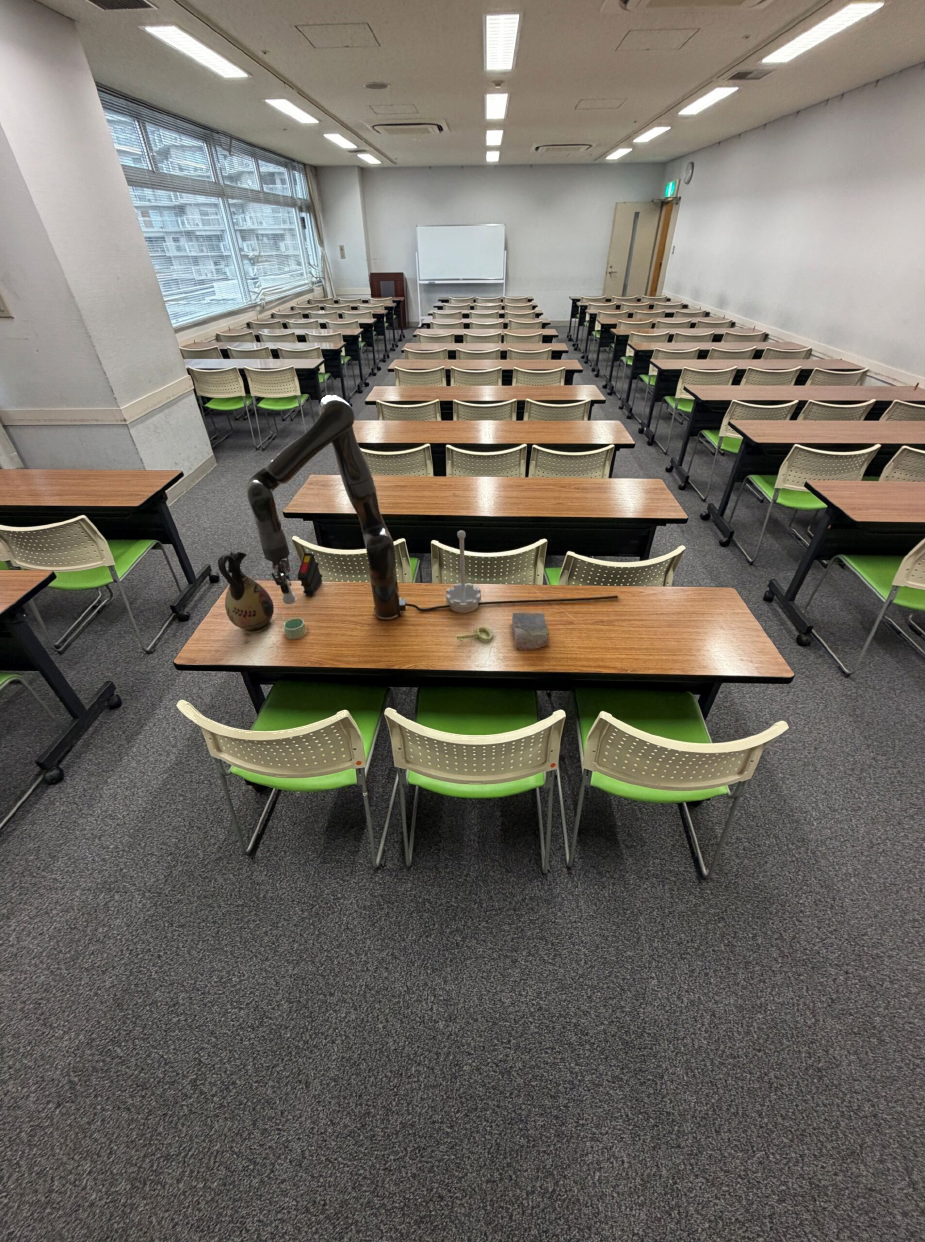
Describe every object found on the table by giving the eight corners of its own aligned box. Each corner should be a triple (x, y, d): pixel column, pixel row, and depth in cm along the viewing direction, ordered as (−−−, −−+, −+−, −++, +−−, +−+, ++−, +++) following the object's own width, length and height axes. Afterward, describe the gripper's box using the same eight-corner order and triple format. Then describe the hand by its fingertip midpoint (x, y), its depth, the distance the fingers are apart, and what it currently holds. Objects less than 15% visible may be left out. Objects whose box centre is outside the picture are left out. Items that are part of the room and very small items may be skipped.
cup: (307, 626, 182) (305, 617, 180) (304, 638, 177) (302, 628, 174) (288, 628, 182) (285, 618, 179) (284, 640, 176) (281, 630, 174)
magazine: (325, 574, 209) (313, 552, 196) (317, 602, 202) (304, 581, 189) (316, 574, 209) (303, 552, 196) (308, 601, 203) (294, 581, 190)
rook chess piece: (299, 599, 172) (294, 578, 167) (291, 606, 168) (285, 585, 164) (289, 596, 173) (283, 576, 169) (280, 603, 170) (274, 582, 165)
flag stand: (481, 614, 186) (480, 539, 168) (445, 614, 186) (441, 539, 168) (480, 594, 196) (480, 522, 179) (447, 595, 197) (443, 522, 179)
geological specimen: (543, 610, 177) (550, 635, 165) (541, 625, 181) (548, 650, 168) (512, 611, 177) (517, 635, 165) (511, 625, 181) (515, 650, 168)
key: (455, 641, 173) (455, 636, 172) (484, 628, 179) (484, 623, 177) (468, 651, 168) (467, 646, 167) (497, 638, 174) (497, 633, 173)
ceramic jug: (248, 612, 191) (223, 539, 174) (285, 615, 188) (265, 542, 171) (221, 639, 177) (192, 563, 160) (262, 644, 175) (237, 567, 157)
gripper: (281, 552, 153) (295, 600, 163) (290, 531, 164) (302, 577, 174) (256, 554, 152) (271, 602, 162) (266, 533, 164) (279, 579, 174)
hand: (287, 589), depth 168 cm, fingers closed on rook chess piece, 3 cm apart
